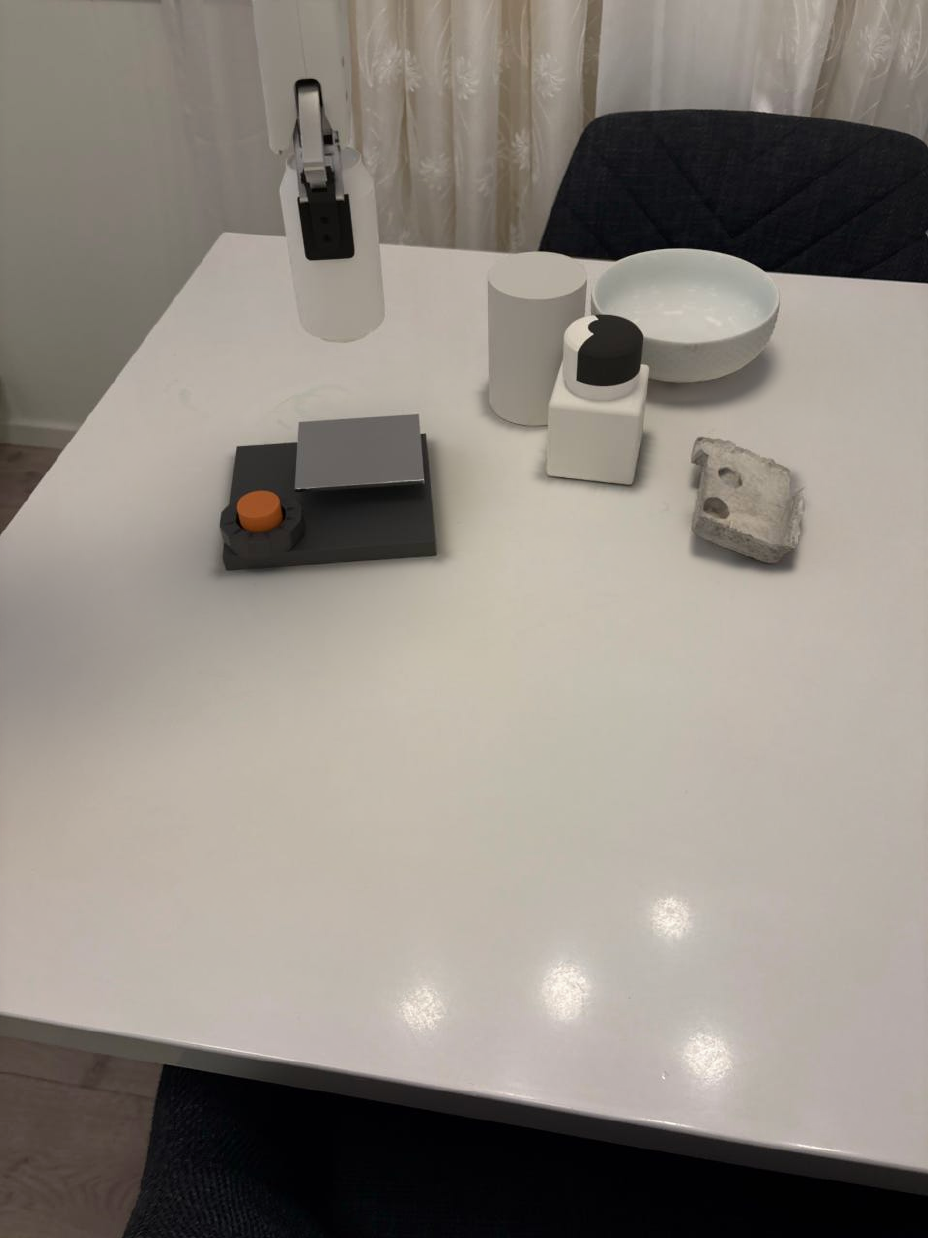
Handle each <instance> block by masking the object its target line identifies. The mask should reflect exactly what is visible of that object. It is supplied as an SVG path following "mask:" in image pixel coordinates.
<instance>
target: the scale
mask: <svg viewBox="0 0 928 1238" xmlns="http://www.w3.org/2000/svg"><path fill="white" fill-rule="evenodd" d="M420 435H421V447H422V459H423V471H424V484H412V485H397V486H383V487H369V488H354V489H340V490H326V491H311V492H297V493H296V492H295V474H296V458H297V441H295V442H293V441H292V442H280V443H266V444H265V443H264V444H251V445H237V446H236V448H235V456H234V464H233V470H232V471H233V473H232V478H231V487H230V493H229V494H230V495H229V502H228V505H227V506H226V507H224V509H223V510H222V511H221V513H220V519H219V529H220V533H221V538H222V541H223V548H222V556H221V558H222V560H223V565H224V568H225V571H231V570H232V571H233V570H244V569H259V568H272V567H286V566H288V567H289V566H299V565H313V564H326V563H341V562H355V561H356V562H357V561H369V560H370V561H371V560H385V559H396V558H397V559H398V558H410V557H424V556H437V543H436V542H437V541H436V530H435V521H434V520H435V519H434V507H433V506H434V505H433V496H432V486H431V474H430V463H429V461H430V460H429V450H428V439H427V433H424V432H423V433H420ZM255 491H269V492H272V493H274V494H275V495H277V496H278V498H279V500H280V505H281V510H282V515H283V518H282V522H281V523H280V524H279V526H277V527H276V528H273V529H271V530H269V531H266V532H255V533H253V532H249V531H247V530H245V529H244V528H243V527H242V526H241V524H240V519H239V515H238V511H237V503H238V501H239V500H240V499H241V498H242V497H243V496H245V495H246V494H248V493H251V492H255Z"/></svg>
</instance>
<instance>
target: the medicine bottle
mask: <svg viewBox="0 0 928 1238" xmlns="http://www.w3.org/2000/svg"><path fill="white" fill-rule="evenodd" d="M642 347H643V334H642V332H641V330H640V329H639V328H638V326H637V325H636V324H634V323H633V322H632V321H630V320H628V319H626V318H623V317H619V316H615V315H606V314H599V315H591V314H590V315H587V316H586V315H585V317H583V318H580V319H578V320H576V321H575V322H573V323H572V324H571V325H570V326H569V327H568V328H567V329H566V331H565V333H564V350H563V360H562V363H561V366H560V369H559V373H558V376H557V379H556V383H555V386H554V389H553V392H552V396H551V399H550V402H549V412H548V425H547V443H546V445H547V446H546V448H547V449H546V474H547V475H548V476H550V477H558V478H559V477H560V478H567V479H576V480H584V481H593V482H601V483H602V482H603V483H609V484H610V483H611V484H619V485H629V486H630V485H632V484H633V482H634V481H635V474H636V470H637V463H638V460H639V454H640V449H641V442H642V437H643V430H644V420H645V411H646V404H647V403H646V402H647V393H648V385H649V378H648V377H649V367H648V366H647V365H643V364H641V357H642Z"/></svg>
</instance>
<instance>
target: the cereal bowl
mask: <svg viewBox="0 0 928 1238" xmlns="http://www.w3.org/2000/svg"><path fill="white" fill-rule="evenodd" d="M780 306H781V293H780V290H779V286H778V285H777V283H776V282H775V280H774V279H773V278H772V277H771V276H770V275H769V274H768V273H767V272H766V271H764V270H763V269H762V268H761V267H759V266H757V265H755V264H753V263H751V262H749V261H747V260H745V259H743V258H740V257H736V256H735V255H730V254H727V253H722V252H718V251H712V250H706V249H704V250H703V249H698V248H697V249H696V248H664V249H663V248H662V249H655V250H649V251H643V252H638V253H635V254H632V255H629V256H625V257H623V258H621V259H618V260H617V261H614V262H613V263H611V264H610V265H608V266H607V267H605V269H603V270H602V271H601V272H600V273H599V274H598V276H597V277H596V278H595V280H594V282H593V284H592V287H591V292H590V315H599V314H606V315H615V316H619V317H623V318H626V319H628V320H630V321H632V322H633V323H634V324H636V325H637V326H638V328H639V329H640V330H641V332H642V334H643V347H642V357H641V364H643V365H647V366H648V367H649V377H648V379H651V380H656V381H661V382H667V383H680V384H682V383H696V382H697V383H700V382H706V381H711V380H712V381H713V380H715V379H719V378H722V377H726V376H728V375H730V374H732V373H735V372H736V371H739V370H741V369H742V368H743V367H745V366H747V365H748V364H749V363H751V362H752V361H753V360H754V359H756V358H757V357H758V356H759V355H760V354H761V353H762V352H763V350H764V349H765V348H766V346H767V344H768V343H769V342H770V339H771V338H772V335H773V333H774V330H775V328H776V324H777V321H778V316H779V315H778V314H779V313H780Z"/></svg>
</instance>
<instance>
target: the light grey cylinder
mask: <svg viewBox="0 0 928 1238" xmlns="http://www.w3.org/2000/svg"><path fill="white" fill-rule="evenodd" d="M587 285H588V272H587V269H586V267H585V266H584V265H583V264H582V263H581V262H580V261H578V260H577V259H575V258H572V257H570V256H568V255H565V254H562V253H557V252H550V251H525V252H519V253H518V252H517V253H514V254H511V255H507V256H505V257H502V258H500V259H499V260H497V261H496V262H494V263H493V264H492V265H491V266H490V267H489V269H488V272H487V318H488V319H487V329H488V330H487V331H488V335H487V336H488V342H487V343H488V344H487V345H488V346H487V347H488V400H489V401H488V403H489V406H490V408H491V410H492V412H494V414H496V415H497V416H498V417H500V418H501V419H503V420H505V421H507V422H510V423H513V424H517V425H521V426H532V427H538V426H539V427H541V426H548V412H549V402H550V399H551V396H552V392H553V389H554V386H555V383H556V379H557V376H558V373H559V369H560V366H561V363H562V360H563V350H564V333H565V331H566V329H567V328H568V327H569V326H570V325H571V324H572V323H573V322H575V321H576V320H578V319H580V318H583V317H586V301H587V287H588V286H587Z"/></svg>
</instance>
